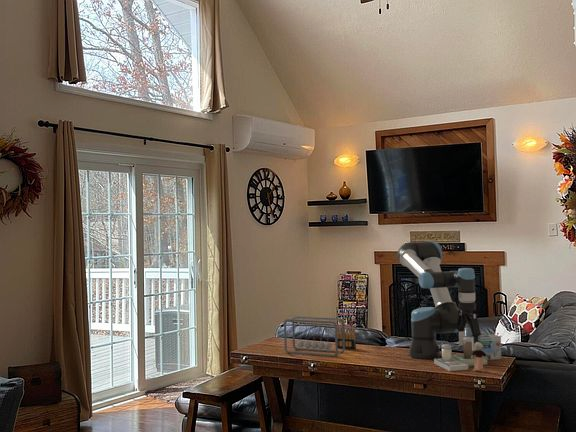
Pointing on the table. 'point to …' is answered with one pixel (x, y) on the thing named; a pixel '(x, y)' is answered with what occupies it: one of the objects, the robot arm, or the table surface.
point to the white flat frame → (451, 365)
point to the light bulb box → (491, 346)
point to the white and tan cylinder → (467, 347)
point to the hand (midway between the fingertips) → (468, 347)
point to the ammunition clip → (346, 338)
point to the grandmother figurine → (478, 357)
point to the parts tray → (467, 361)
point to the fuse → (446, 353)
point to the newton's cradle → (313, 344)
